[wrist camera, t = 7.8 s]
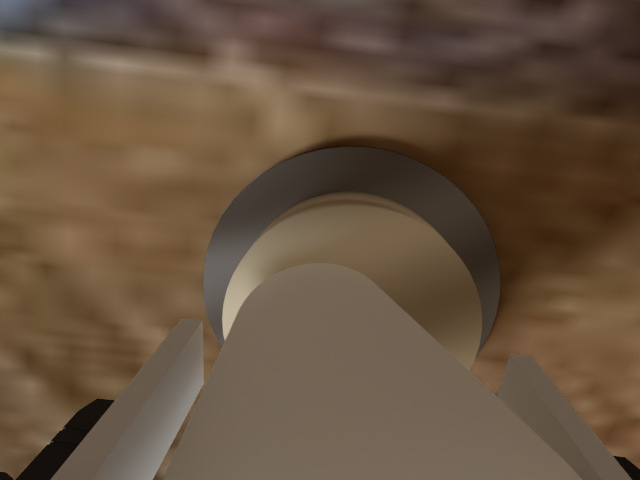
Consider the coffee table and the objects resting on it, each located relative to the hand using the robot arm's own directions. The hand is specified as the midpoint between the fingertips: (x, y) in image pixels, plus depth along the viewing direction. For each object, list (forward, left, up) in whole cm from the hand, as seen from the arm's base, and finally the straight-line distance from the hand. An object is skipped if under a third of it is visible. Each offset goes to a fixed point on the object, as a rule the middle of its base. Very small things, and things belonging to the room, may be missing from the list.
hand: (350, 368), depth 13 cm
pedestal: (0, 0, -6) cm, 6 cm away
